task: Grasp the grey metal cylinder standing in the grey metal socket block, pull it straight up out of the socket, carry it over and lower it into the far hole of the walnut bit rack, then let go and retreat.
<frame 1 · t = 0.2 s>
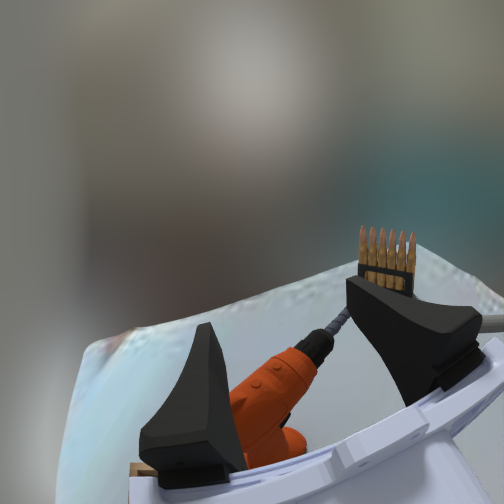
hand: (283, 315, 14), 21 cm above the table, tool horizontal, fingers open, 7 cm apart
toy drill: (303, 432, 26), on the table
hammer: (474, 352, 27), on the table
ammunition clip: (384, 291, 46), on the table
bit rack: (187, 489, 21), on the table
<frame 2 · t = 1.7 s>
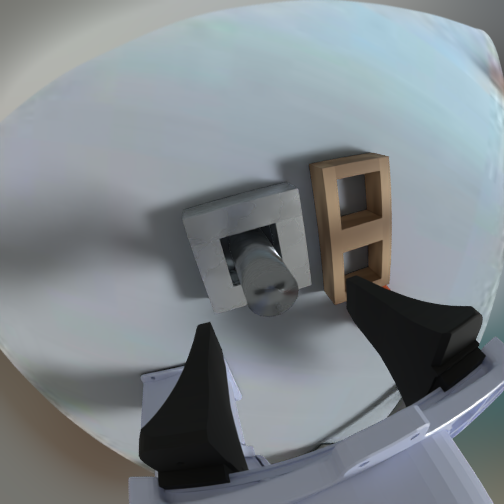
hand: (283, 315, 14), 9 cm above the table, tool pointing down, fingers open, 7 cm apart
socket block: (247, 242, 22), on the table
grey metal cylinder: (258, 264, 19), in the socket block
bit rack: (348, 225, 23), on the table
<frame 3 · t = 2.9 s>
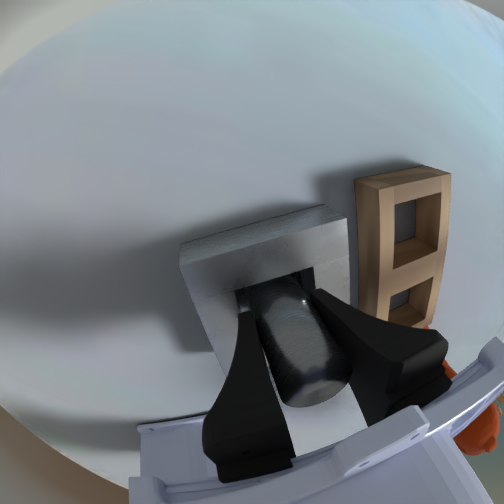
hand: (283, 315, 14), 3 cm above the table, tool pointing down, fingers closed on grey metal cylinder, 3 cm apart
toy drill: (415, 354, 24), on the table
socket block: (268, 286, 16), on the table
grey metal cylinder: (288, 326, 13), in the socket block, touching gripper
bit rack: (394, 257, 17), on the table
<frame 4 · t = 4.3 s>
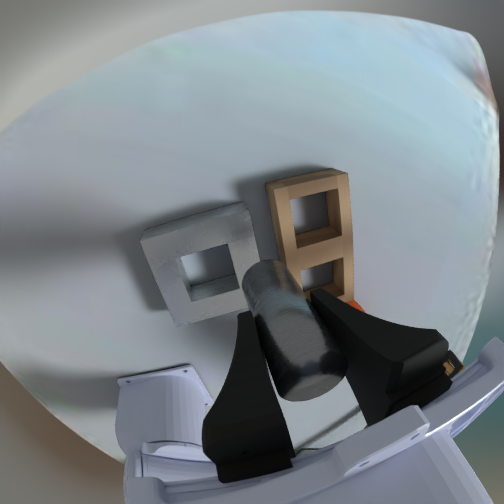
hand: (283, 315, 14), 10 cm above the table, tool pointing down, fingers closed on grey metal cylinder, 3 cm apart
socket block: (206, 260, 23), on the table
grey metal cylinder: (285, 321, 13), point 11 cm above the table, touching gripper
ammunition clip: (432, 369, 43), on the table
bit rack: (310, 241, 24), on the table
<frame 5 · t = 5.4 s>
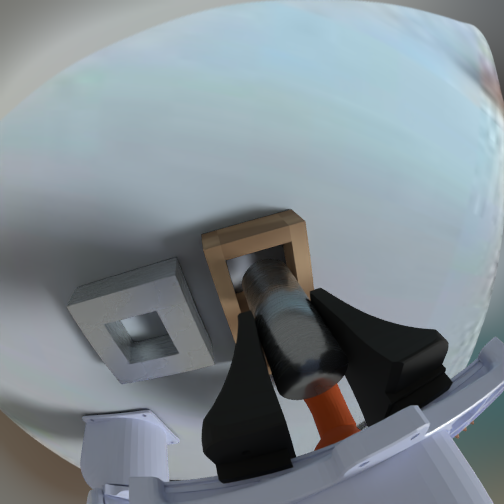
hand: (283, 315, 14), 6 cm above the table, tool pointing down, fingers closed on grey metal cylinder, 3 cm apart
toy drill: (330, 379, 27), on the table
socket block: (145, 318, 19), on the table
grey metal cylinder: (286, 320, 13), point 6 cm above the table, touching gripper
bit rack: (264, 296, 20), on the table
when the fingers open (4 cm above the table, at t = 6.0 s): grey metal cylinder drops 1 cm, resting in bit rack.
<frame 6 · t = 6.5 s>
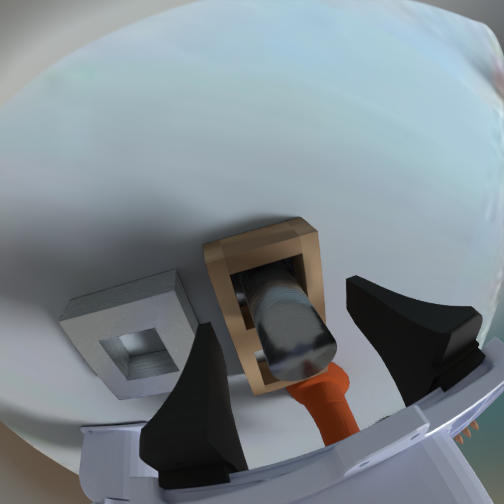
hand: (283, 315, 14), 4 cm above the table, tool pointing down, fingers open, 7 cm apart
toy drill: (336, 389, 26), on the table
socket block: (143, 332, 18), on the table
grey metal cylinder: (279, 307, 14), in the bit rack
bit rack: (271, 309, 19), on the table
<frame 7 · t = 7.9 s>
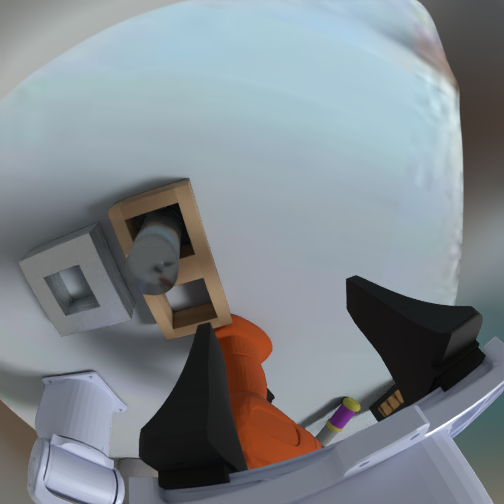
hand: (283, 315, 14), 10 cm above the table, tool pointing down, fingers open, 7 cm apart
toy drill: (265, 354, 29), on the table
socket block: (79, 277, 21), on the table
grey metal cylinder: (157, 244, 17), in the bit rack
hammer: (288, 441, 41), on the table
pillar candle: (142, 465, 38), on the table
ammunition clip: (391, 389, 41), on the table
bit rack: (175, 259, 22), on the table
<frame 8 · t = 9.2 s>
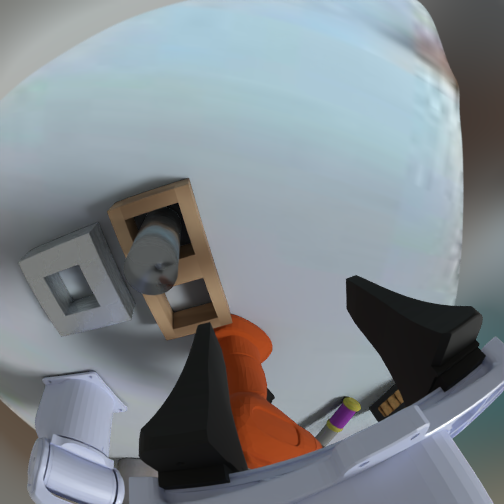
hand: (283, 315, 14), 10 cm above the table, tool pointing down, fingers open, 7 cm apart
toy drill: (265, 354, 29), on the table
socket block: (79, 277, 21), on the table
grey metal cylinder: (157, 244, 17), in the bit rack
hammer: (288, 441, 41), on the table
pillar candle: (142, 465, 38), on the table
ammunition clip: (391, 389, 41), on the table
bit rack: (175, 259, 22), on the table
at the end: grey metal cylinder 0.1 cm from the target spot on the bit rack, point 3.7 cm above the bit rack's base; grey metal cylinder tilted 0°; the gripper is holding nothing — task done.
